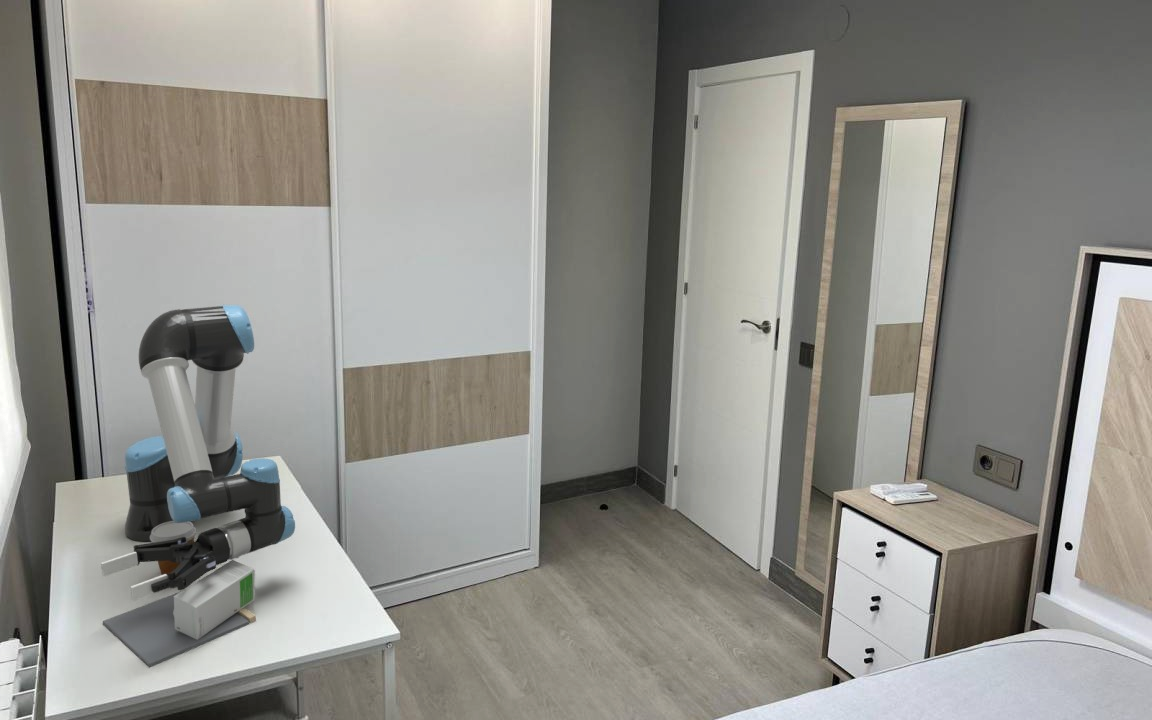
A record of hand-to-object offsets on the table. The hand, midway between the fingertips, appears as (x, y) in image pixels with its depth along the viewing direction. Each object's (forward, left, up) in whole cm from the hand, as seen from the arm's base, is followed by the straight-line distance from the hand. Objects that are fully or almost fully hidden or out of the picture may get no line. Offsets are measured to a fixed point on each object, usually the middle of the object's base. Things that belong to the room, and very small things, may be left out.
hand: (116, 581), depth 161 cm
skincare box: (+3, +24, -8) cm, 25 cm away
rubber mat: (0, +10, -14) cm, 17 cm away
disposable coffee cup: (-19, +19, -14) cm, 31 cm away
